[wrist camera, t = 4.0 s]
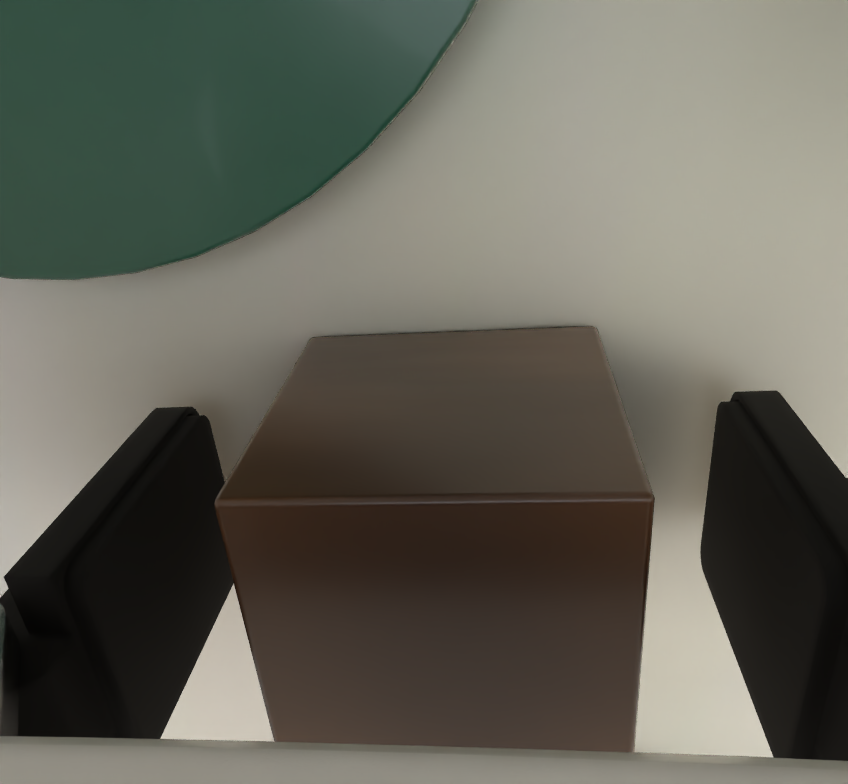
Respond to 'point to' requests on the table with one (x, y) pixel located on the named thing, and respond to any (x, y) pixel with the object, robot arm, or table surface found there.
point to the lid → (190, 118)
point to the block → (445, 543)
